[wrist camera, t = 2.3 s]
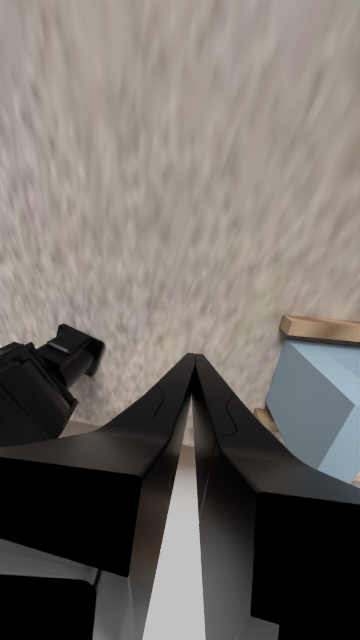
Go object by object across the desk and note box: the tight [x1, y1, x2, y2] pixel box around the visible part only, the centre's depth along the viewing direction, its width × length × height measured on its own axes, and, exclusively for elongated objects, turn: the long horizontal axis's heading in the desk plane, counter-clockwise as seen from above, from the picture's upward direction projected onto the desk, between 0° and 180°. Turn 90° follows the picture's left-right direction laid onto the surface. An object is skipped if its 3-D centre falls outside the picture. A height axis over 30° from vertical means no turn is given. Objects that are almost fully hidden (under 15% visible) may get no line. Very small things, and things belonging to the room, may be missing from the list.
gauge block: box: [265, 339, 360, 484], centre depth 17 cm, size 11×10×10 cm
